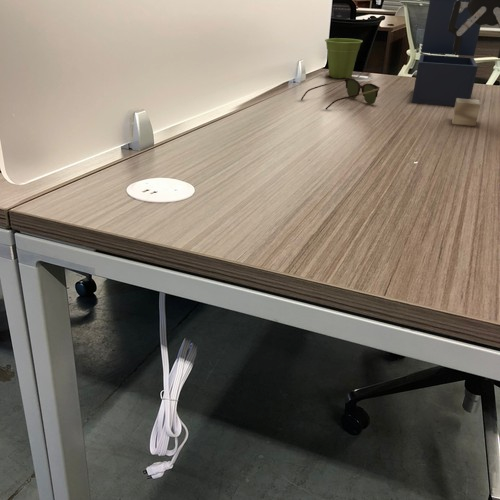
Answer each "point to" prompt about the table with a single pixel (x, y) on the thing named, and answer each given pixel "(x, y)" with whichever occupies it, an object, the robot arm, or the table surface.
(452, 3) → the lid
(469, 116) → the block
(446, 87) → the chest
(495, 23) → the robot arm
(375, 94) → the sunglasses
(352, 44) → the plant pot
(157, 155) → the table surface
